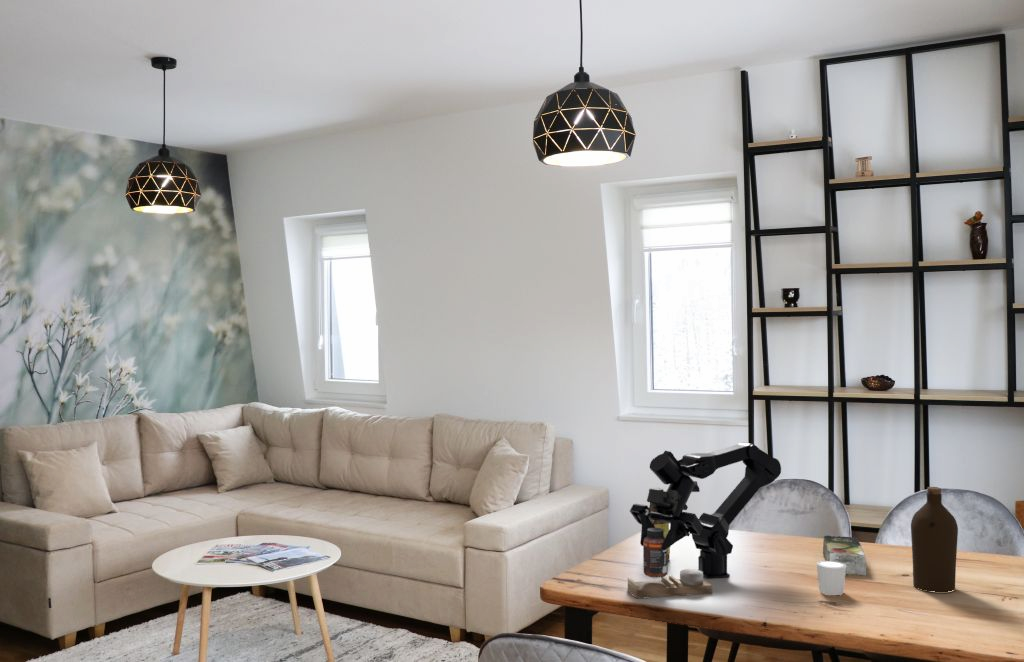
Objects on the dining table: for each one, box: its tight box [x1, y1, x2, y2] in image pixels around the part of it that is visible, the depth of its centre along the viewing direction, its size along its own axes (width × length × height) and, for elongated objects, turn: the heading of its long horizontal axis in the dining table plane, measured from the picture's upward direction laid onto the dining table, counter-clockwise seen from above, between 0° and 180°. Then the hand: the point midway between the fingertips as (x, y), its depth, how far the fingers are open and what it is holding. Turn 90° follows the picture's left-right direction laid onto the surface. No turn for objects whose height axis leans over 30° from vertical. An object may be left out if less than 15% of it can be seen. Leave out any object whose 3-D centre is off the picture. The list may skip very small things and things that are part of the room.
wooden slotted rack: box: [627, 568, 713, 599], centre depth 217 cm, size 20×6×4 cm, turn 101°
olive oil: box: [910, 486, 959, 592], centre depth 219 cm, size 11×11×25 cm
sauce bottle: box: [648, 487, 671, 561], centre depth 246 cm, size 6×6×20 cm
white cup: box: [816, 560, 847, 596], centre depth 216 cm, size 7×7×7 cm
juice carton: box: [822, 535, 867, 576], centre depth 240 cm, size 20×10×6 cm, turn 166°
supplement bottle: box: [642, 528, 669, 578], centre depth 218 cm, size 6×6×11 cm
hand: (652, 547), depth 217 cm, fingers closed on supplement bottle, 6 cm apart
